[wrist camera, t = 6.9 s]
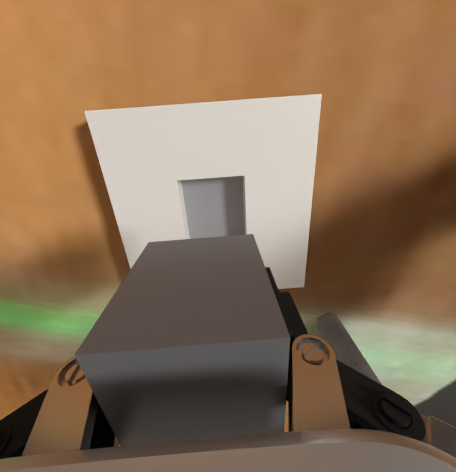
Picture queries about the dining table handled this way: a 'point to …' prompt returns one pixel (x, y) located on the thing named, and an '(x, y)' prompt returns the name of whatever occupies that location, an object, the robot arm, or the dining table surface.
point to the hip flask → (344, 345)
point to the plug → (191, 345)
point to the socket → (214, 174)
